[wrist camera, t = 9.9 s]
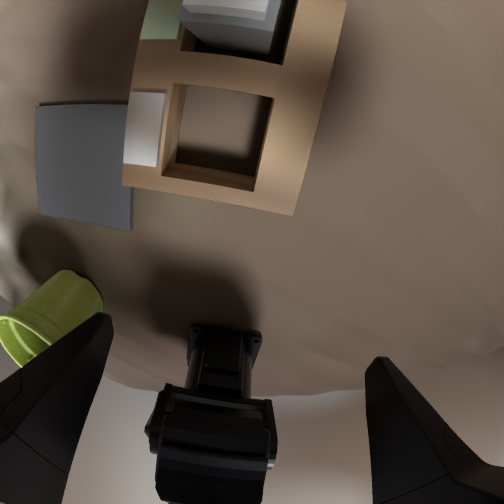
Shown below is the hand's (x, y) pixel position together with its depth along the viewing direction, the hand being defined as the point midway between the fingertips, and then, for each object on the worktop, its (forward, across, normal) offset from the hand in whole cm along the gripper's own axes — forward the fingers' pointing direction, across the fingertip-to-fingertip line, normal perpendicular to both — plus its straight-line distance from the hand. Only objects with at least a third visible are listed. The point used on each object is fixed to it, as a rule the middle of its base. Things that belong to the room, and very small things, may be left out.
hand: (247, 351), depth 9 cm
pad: (+12, +13, -1) cm, 18 cm away
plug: (+12, +3, -12) cm, 17 cm away
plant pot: (+12, +15, +12) cm, 23 cm away
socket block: (+12, +3, -8) cm, 15 cm away
